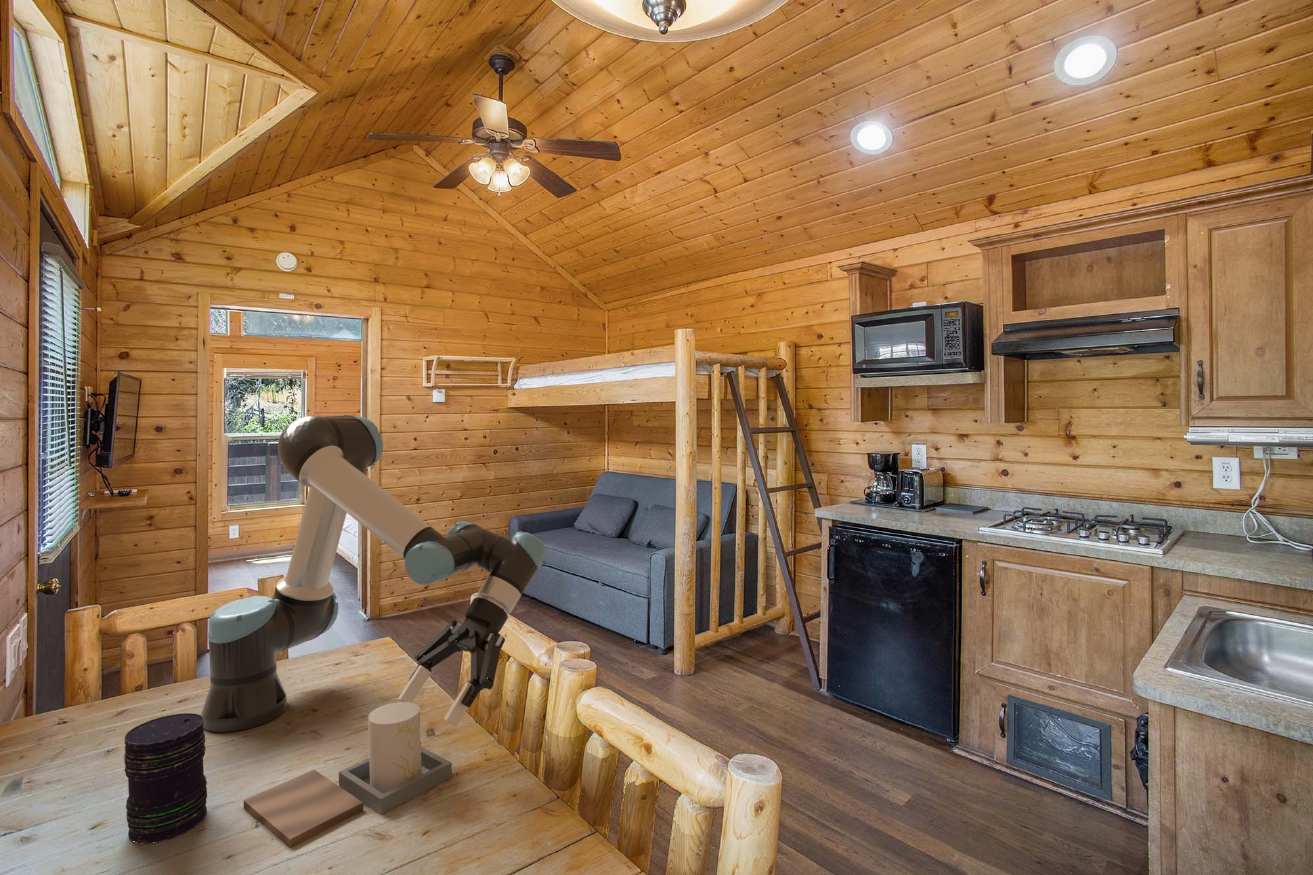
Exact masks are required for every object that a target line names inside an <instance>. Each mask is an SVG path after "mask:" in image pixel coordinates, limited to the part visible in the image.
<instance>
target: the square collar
mask: <svg viewBox="0 0 1313 875" xmlns="http://www.w3.org/2000/svg"><path fill="white" fill-rule="evenodd" d="M421 767H424V768H425V769H427V770H428V771H425V772H424V773H422V774H421V775H419V776H417V777H416V778H414V779H412V780H410V781H408V782H406V783H404V784H402V785H400V786H398V787H396V788H394V789H392V790H390V791H388V792H386V793H384V794H383V793H381V792H380V791H378V790H376V789H375V788H373V787H372V786H370V783H367V782H365V781H364V780H362V779H365V778H368V777H370V763H369V758H366V759H363V760H362V761H359V762H357V763H355V764H352V765H351V766H349V767H346V768H344V769H342V770H340V771H338V786H339V787H341V788H342V789H344V790H345V791H347V792H348V793H350V794H351V795H353V796H354V797H356V798H357V799H359V800H360V801H362V802H363V805H366V806H367V807H369V808H370V809H371V810H373V811H374V812H377V813H378V814H379V815H383V814H385V813H387V812H389V811H391V810H393V809H394V808H396V807H399V806H400V805H402V804H404V803H406V802H408V801H410V800H411V799H413V798H415V797H417V796H419V795H422V794H423V793H425V792H426V791H428V790H430V789H432V788H434V787H436V786H438V785H440V784H442V783H444V782H445V781H447V780H449V779H451V778H452V777H453V763H452V761H449V760H447V759H445V758H443V757H442V756H440V755H438V754H436V753H434V752H432V751H430V750H428V749H426V748H425V747H422V746H421Z"/></svg>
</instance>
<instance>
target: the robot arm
mask: <svg viewBox="0 0 1313 875" xmlns="http://www.w3.org/2000/svg"><path fill="white" fill-rule="evenodd" d="M383 450H384V441H383V436H382V434H381V433H380V431H379V429H378V426H377V425H376V424H375V423H374V422H373V421H372V420H370V419H368V418H367V417H364V416H361V415H351V414H344V415H307V416H302V417H299V418H297V419H295V420H293V421H292V422H290V423H289V424H288V425H286V426H285V428H284V429H283V430H282V431H281V434H280V436H279V438H278V443H277V454H278V457H279V460H280V462H281V464H282V465H283V468H284V469H285V470H286V471H287V472H288V473H289V475H290V476H292V477H293V478H294V480H296V481H298V482H299V483H300V484H301V485H302V486H304V487H306V488H309V489H308V492H307V496H306V499H305V504H304V508H303V512H302V516H301V520H300V522H299V527H298V531H297V535H296V538H295V543H294V546H293V550H292V553H291V558H290V560H289V561H290V562H289V565H288V569H287V573H286V575H285V576H284V577H281V578H280V579H278V580H277V582H276V584H275V588H274V593H273V597H270V596H266V595H256V596H249V597H246V598H239V599H237V600H233V601H230V602H227V603H225V604H223V605H221V606H219V607H218V608H216V609H215V610H214V611H213V612H212V613H211V614H210V617H209V619H208V631H207V639H208V647H209V679H210V686H209V688H208V691H207V694H206V698H205V700H204V704H203V707H202V710H201V712H200V715H201V716H202V717H203V719H204V725H203V727H204V731H205V730H206V731H208V732H214V733H229V732H236V731H237V732H239V731H242V730H247V729H251V728H255V727H257V726H261V725H263V724H266V723H268V722H270V721H273V720H274V719H276V718H278V717H280V716H281V715H282V714H283V713H285V711H286V710H287V708H288V696H287V693H286V691H285V688H284V686H283V684H282V682H281V679H280V677H279V675H278V671H277V669H278V668H277V654H279V653H281V652H284V651H287V650H289V649H291V648H294V647H296V646H300V645H301V644H303V643H306V642H309V641H311V640H314V639H316V638H319V637H320V636H321V635H323V634H325V633H326V632H328V631H329V630H330V629H331V628H332V627H333V625H334V624H335V622H336V620H337V618H338V614H339V603H338V602H337V599H338V598H337V595H336V593H335V592H334V587H333V585H332V584H331V583H330V581H329V580H330V576H331V572H332V568H333V566H334V562H335V557H336V554H337V550H338V546H339V543H340V539H341V536H342V532H343V528H344V524H345V520H346V517H347V515H349V516H350V517H351V518H353V519H354V520H355V521H356V522H358V523H359V524H360V525H361V526H363V527H364V528H366V529H367V530H368V531H369V532H370V533H371V534H372V535H374V536H375V537H376V538H378V539H379V540H380V541H381V542H383V543H384V544H386V545H387V546H388V547H389V548H390V549H391V550H392V551H394V552H396V553H397V554H398V555H399V556H400V557H402V558H403V559H404V570H405V571H406V573H407V575H408V577H409V579H410V580H411V581H412V582H413V583H416V584H417V585H422V586H425V585H426V586H427V585H431V584H436V583H439V582H442V581H445V580H447V579H448V578H450V577H453V576H455V575H457V574H460V573H462V572H464V571H467V570H470V569H472V568H474V567H477V568H479V569H482V570H484V571H486V572H488V573H489V574H488V576H487V577H486V579H485V580H484V582H483V584H482V585H481V587H480V588H479V590H478V591H477V593H476V595H477V597H474V598H473V599H472V601H471V603H470V604H469V605H468V607H467V609H466V610H465V614H464V615H465V620H464V621H463V622H462V623H460V622H459V621H458V620H456V619H455V618H453V619H451V620H450V621H449V622H448V624H447V625H446V627H445V628H443V630H441V631H440V632H439V633H438V634H437V635H436V636H435V637H433V639H431V640H430V641H429V642H428V643H427V644H426V645H425V646H424V647H422V649H420V651H418V652H417V653H416V654H415V655H414V659H415V660H416V661H417V666H416V667H415V668H416V669H414V671H413V673H412V674H411V676H410V677H409V680H408V683H407V684H406V685H405V687H404V688H403V690H402V691H401V693H400V695H399V696H398V697H397V699H398V700H400V702H412V703H414V701H415V699H416V698H417V696H418V695H419V693H420V691H421V690H422V689H423V687H424V685H425V684H426V682H427V680H428V679H429V677H431V674H432V671H433V670H432V668H434V667H436V666H437V665H439V664H440V663H441V662H443V661H445V660H446V659H447V658H449V657H450V656H452V655H453V654H455V653H457V652H458V653H459V652H462V651H463V652H469V654H470V679H469V680H467V682H465V683H464V685H463V686H462V688H461V690H459V693H458V695H457V696H456V697H455V700H454V702H453V703H452V705H451V706H450V708H449V710H448V711H447V713H446V715H445V716H444V718H443V719H444V720H445V721H446V722H448V723H450V724H451V725H452V726H454V727H456V728H457V727H458V725H459V723H460V722H461V720H462V718H463V716H465V713H466V711H467V710H468V708H470V707H471V706H472V705H473V704H474V702H475V700H476V699H477V696H478V694H479V693H480V692H481V691H483V690H484V689H486V690H492V689H493V687H494V684H495V678H496V672H497V669H498V664H499V659H500V656H501V651H502V650H501V649H502V647H503V645H504V643H505V642H506V638H505V637H504V636H503V635H502V634H501V633H500V632H501V630H502V628H503V627H504V625H505V624H506V622H507V620H508V618H509V617H508V614H511V613H512V612H513V610H514V609H515V606H516V605H517V603H518V602H519V600H520V598H521V596H522V595H523V593H524V591H525V590H526V588H527V587H528V585H529V584H530V582H531V580H532V579H533V577H534V575H535V574H536V572H537V571H538V570H539V568H540V565H541V563H542V561H543V559H544V557H545V556H546V553H547V548H546V546H545V543H543V541H542V540H541V539H540V538H538V537H537V536H535V535H534V534H531V533H529V532H528V531H527V532H526V531H525V532H524V531H518V532H516V533H515V534H514V536H512V538H508V537H505V536H502V535H501V534H498V533H495V532H493V531H491V530H489V529H486V528H484V527H482V526H480V525H479V524H476V523H471V522H469V521H464V520H461V521H458V522H456V523H454V525H453V526H451V527H450V528H449V530H448V531H447V533H446V535H443V534H442V533H440V532H439V531H438V530H437V529H435V528H434V527H432V526H431V525H430V524H429V523H428V522H426V521H425V520H423V519H422V518H421V517H420V516H418V515H417V514H416V513H414V512H413V511H412V510H411V509H409V508H408V507H407V506H405V505H404V504H403V503H402V502H400V501H399V500H398V499H397V498H395V497H394V496H393V495H391V494H390V493H389V492H388V491H386V490H385V489H384V488H383V487H381V486H380V485H379V484H377V483H376V482H375V481H373V479H371V478H370V477H368V476H367V475H366V471H367V468H370V467H372V466H374V465H375V464H377V463H378V462H379V461H380V459H381V457H382V454H383Z"/></svg>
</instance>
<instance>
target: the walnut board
mask: <svg viewBox="0 0 1313 875" xmlns="http://www.w3.org/2000/svg"><path fill="white" fill-rule="evenodd" d="M243 809H245V810H246V811H247V812H248V813H249V814H250V815H251V816H253V818H255V819H256V820H257V821H259V822H260V823H261V824H262V825H263V826H265V828H267V829H268V830H269V831H271V832H270V833H272V834H274V835H275V836H276V837H277V838H278V839H279V840H281V841H282V842H283V843H284V844H285V845H287V847H289V848H292V847H293V846H295V845H298V844H300V843H302V842H304V841H305V840H308V839H309V838H311V837H313V836H315V835H317V834H319V833H321V832H322V831H325V830H327V829H328V828H331V827H332V826H335V825H337V824H338V823H341V822H343V821H344V820H346V819H348V818H350V817H352V816H354V815H356V814H358V813H360V812H362V811H363V810H364V803H363V802H362V801H360V800H359V799H357V798H356V797H354V796H353V795H351V794H350V793H348V792H347V791H345V790H344V789H342V788H341V787H339V784H336V783H335V782H334V781H332V780H330V779H329V778H328V777H326V776H324V775H323V774H322V773H320V772H318V771H317V770H316V769H312V770H310V771H308V772H305V773H302V774H301V775H299V776H296V777H293V778H291V779H289V780H287V781H284V782H282V783H280V784H278V785H275V786H273V787H270V788H269V789H265V790H264V791H261V792H259V793H257V794H255V795H252V796H250V797H248V798H245V799H243Z"/></svg>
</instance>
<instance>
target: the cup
mask: <svg viewBox="0 0 1313 875" xmlns="http://www.w3.org/2000/svg"><path fill="white" fill-rule="evenodd" d="M367 716H368V717H367V718H368V720H367V722H368V757H369V763H370V775H369V785H370V786H372V787H373V788H375V789H376V790H378V791H380V792H381V793H383V794H384V793H386V792H388V791H390V790H392V789H394V788H396V787H398V786H400V785H402V784H404V783H406V782H408V781H410V780H412V779H414V778H416V777H417V776H419V775H421V774H423V773H422V772H423V771H422V765H421V747H422V740H421V739H422V736H421V735H422V734H421V732H422V731H421V730H422V729H421V706H420V705H419V704H417V703H416V702H403V701H397V702H392V703H388V704H387V703H386V704H384V705H381V706H379V707H377V708H375V709H373V710H371V712H370V713H369V714H368V715H367Z"/></svg>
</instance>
